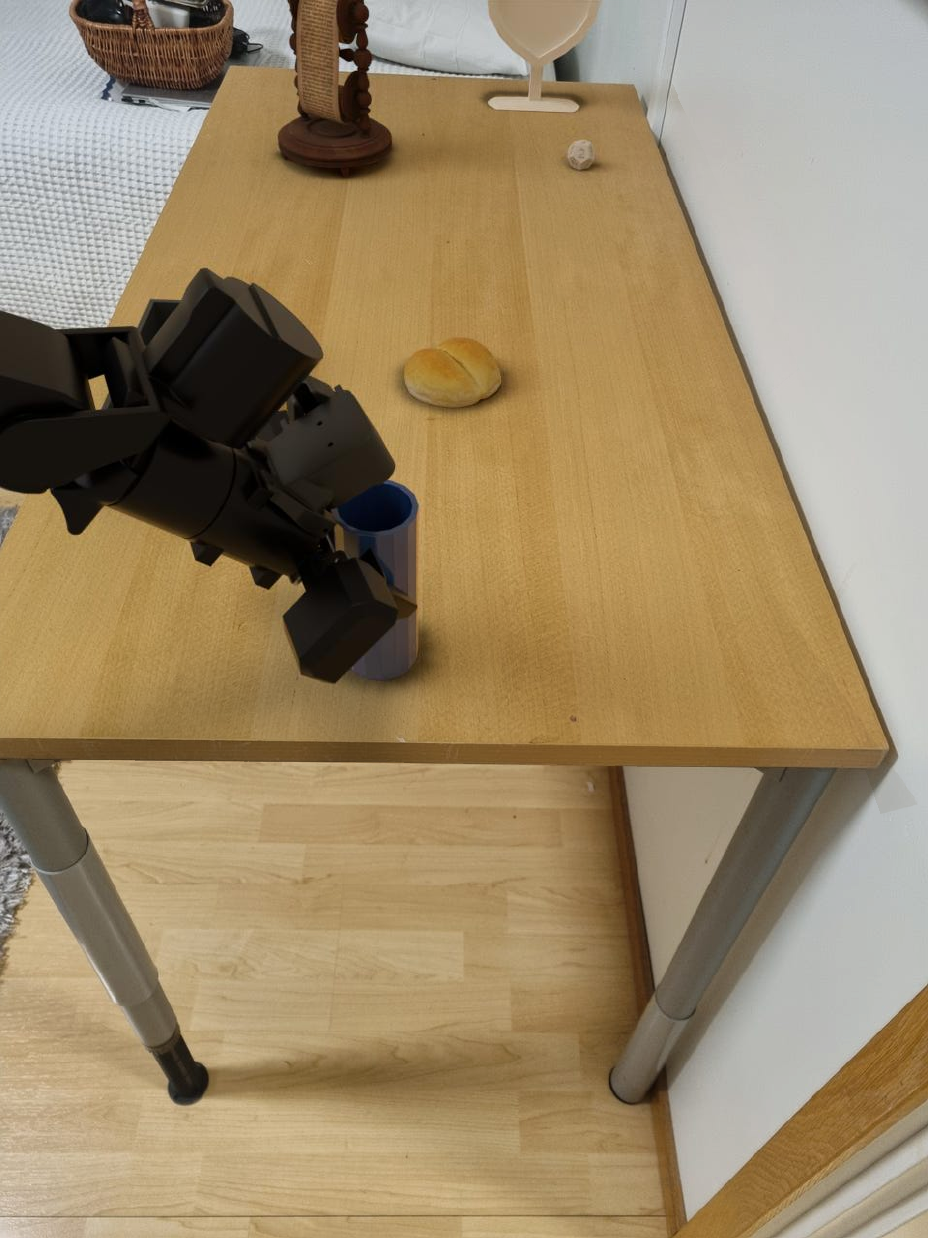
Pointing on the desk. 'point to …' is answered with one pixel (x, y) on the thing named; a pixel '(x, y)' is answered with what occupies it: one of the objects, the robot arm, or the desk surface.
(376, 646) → the cup
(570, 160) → the game die
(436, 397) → the bread roll
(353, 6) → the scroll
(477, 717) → the desk surface
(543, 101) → the heart sculpture
